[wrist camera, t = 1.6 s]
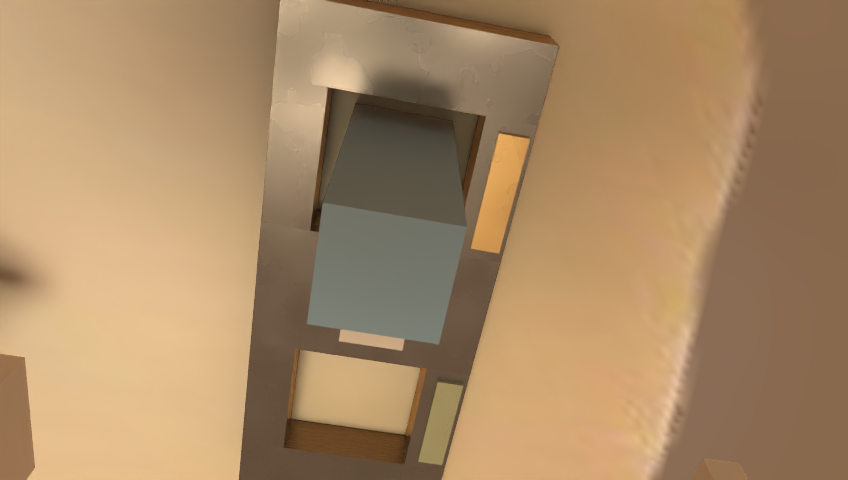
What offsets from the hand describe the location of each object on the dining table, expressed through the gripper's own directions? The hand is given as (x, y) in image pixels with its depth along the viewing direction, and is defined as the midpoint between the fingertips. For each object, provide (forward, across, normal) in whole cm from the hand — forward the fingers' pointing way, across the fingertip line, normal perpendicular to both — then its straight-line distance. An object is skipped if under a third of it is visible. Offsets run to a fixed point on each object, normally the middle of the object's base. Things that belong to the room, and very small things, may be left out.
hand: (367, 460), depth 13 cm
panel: (+17, 0, -6) cm, 18 cm away
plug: (+17, 0, 0) cm, 17 cm away
